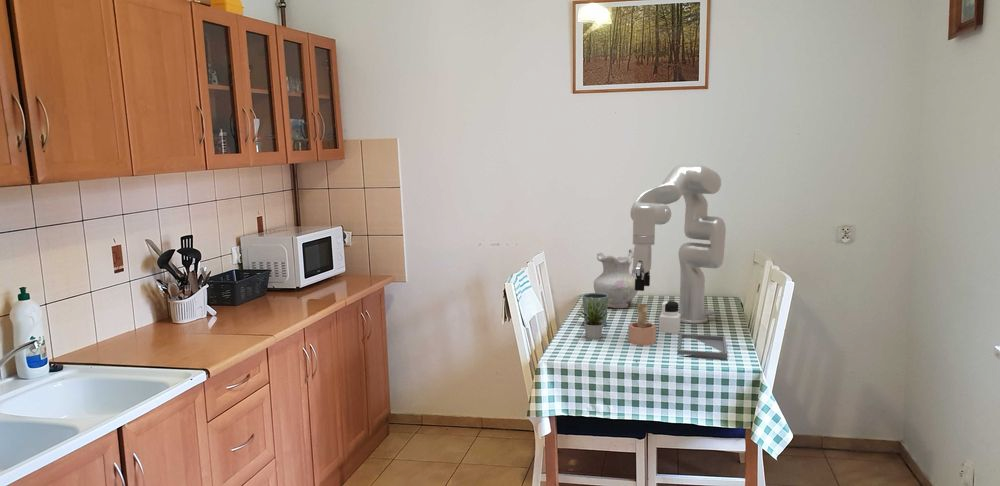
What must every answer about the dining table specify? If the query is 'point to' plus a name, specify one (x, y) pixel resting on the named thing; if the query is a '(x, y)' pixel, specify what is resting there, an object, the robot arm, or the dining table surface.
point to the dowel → (642, 315)
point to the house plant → (594, 319)
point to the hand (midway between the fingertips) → (642, 288)
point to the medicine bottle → (669, 318)
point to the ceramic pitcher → (616, 280)
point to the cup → (642, 334)
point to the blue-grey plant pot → (596, 297)
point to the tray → (712, 341)
